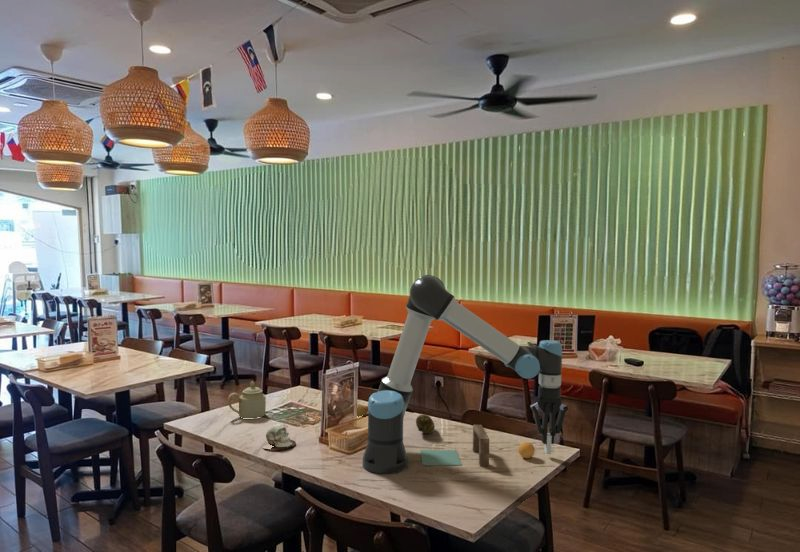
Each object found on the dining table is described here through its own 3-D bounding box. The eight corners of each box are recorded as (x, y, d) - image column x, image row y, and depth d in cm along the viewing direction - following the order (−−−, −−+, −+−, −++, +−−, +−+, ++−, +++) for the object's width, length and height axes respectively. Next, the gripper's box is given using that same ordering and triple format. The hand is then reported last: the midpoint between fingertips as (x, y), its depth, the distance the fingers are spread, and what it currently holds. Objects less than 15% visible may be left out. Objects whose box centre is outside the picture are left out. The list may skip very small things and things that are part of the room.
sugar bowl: (245, 423, 215) (245, 387, 214) (226, 419, 220) (226, 383, 219) (271, 414, 228) (271, 380, 227) (252, 410, 233) (252, 376, 232)
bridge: (479, 466, 174) (480, 438, 174) (472, 449, 189) (473, 424, 188) (488, 466, 174) (489, 438, 174) (480, 449, 189) (481, 424, 189)
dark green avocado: (442, 430, 210) (442, 410, 209) (428, 439, 199) (428, 419, 198) (423, 426, 214) (423, 407, 213) (408, 436, 202) (409, 415, 202)
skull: (304, 441, 193) (290, 425, 187) (288, 466, 187) (273, 451, 181) (283, 433, 200) (269, 417, 194) (266, 456, 195) (251, 442, 189)
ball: (520, 460, 179) (520, 445, 179) (516, 454, 185) (516, 439, 185) (536, 460, 179) (536, 445, 179) (531, 454, 185) (532, 439, 185)
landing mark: (422, 465, 175) (422, 464, 175) (420, 450, 188) (420, 450, 188) (461, 465, 175) (461, 464, 175) (456, 450, 188) (456, 450, 188)
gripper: (534, 388, 177) (532, 456, 178) (572, 388, 178) (570, 457, 179) (528, 382, 185) (526, 448, 186) (564, 383, 185) (562, 448, 186)
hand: (547, 452), depth 182 cm, fingers closed
